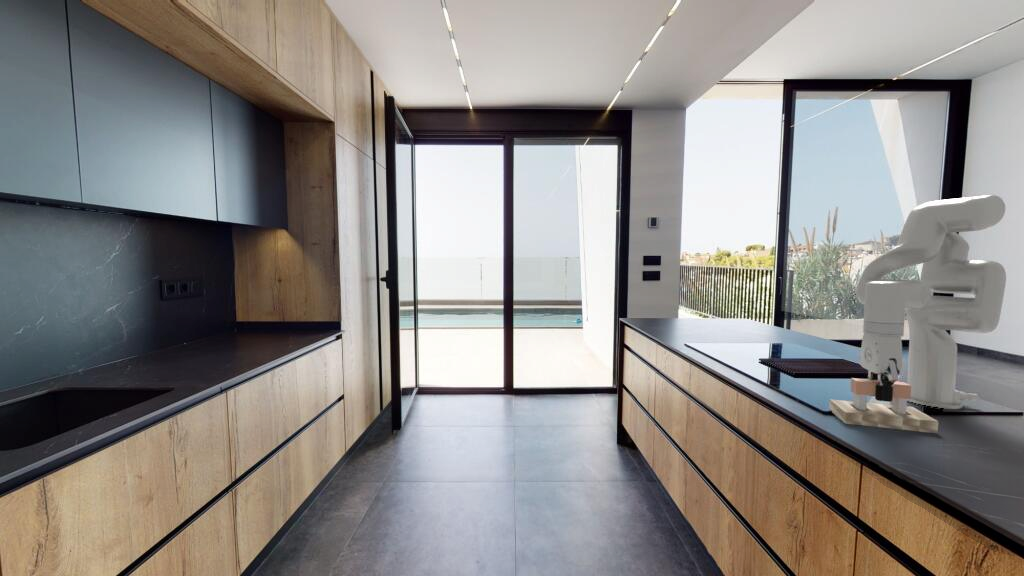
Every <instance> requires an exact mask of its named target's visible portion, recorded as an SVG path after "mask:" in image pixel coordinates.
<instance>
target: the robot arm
mask: <svg viewBox="0 0 1024 576" xmlns="http://www.w3.org/2000/svg"><path fill="white" fill-rule="evenodd" d="M1005 214H1006V205H1005V201H1004V200H1003V198H1002V197H1000V196H999V195H995V194H985V195H977V196H968V197H959V198H949V199H940V200H933V201H928V202H924V203H923V204H920V205H918V206H917V207H915V208H913V209H912V210H911V211H910V212H909V214H908V216H907V217H906V218H907V219H906V221H905V223H904V225H903V227H902V229H901V230H902V231H901V232H900V235H899V237H898V239H897V242H896V245H895V246H894V247H892V248H891V249H889V250H887V251H885V252H884V253H882V254H881V255H879V256H877V257H876V258H874V260H872V261H871V262H869V264H867V266H866V267H864V269H863V272H862V273H861V276H860V279H859V281H858V282H857V286H856V290H855V292H856V293H855V295H856V296H855V297H856V299H857V301H858V302H859V303H861V304H862V305H864V306H863V307H864V308H863V324H862V325H863V326H862V328H863V329H862V333H863V335H862V341H861V347H860V356H859V365H860V366H861V367H862V368H863V369H865V370H867V374H868V375H867V379H870V380H878V385H876V394H875V396H874V397H875V399H874V400H876V401H879V402H887V403H888V402H890V403H892V397H893V387H894V382H899V376H900V375H901V374H902V372H903V371H902V369H903V343H902V342H903V341H902V338H903V337H904V335H905V334H904V333H905V332H904V331H905V311H906V318H907V322H908V323H907V324H908V331H909V342H908V363H907V364H908V365H907V366H908V367H907V384H909V385H911V399H907V402H908V401H909V403H911V402H913V403H912V404H914V403H916V404H915V405H918V404H921V405H920V406H922V405H926V406H925V407H927V406H931V407H930V408H933V407H938V408H937V409H940V408H944V409H943V410H960V409H962V408H963V406H964V405H963V402H962V401H964V400H967V401H972V402H973V401H974V402H977V401H979V399H980V398H979V395H978V394H977V393H966V392H965V391H961V390H957V389H956V380H957V376H956V375H957V364H958V363H957V361H958V345H957V342H956V341H955V339H954V338H953V337H952V336H951V335H950V334H949V332H948V331H955V332H956V331H957V332H965V333H976V334H986V333H992V332H994V330H996V329H997V327H998V325H999V322H1000V319H1001V313H1002V307H1003V302H1004V301H1003V300H1004V297H1005V289H1006V284H1007V283H1006V282H1007V274H1006V270H1005V268H1004V266H1003V264H1001V263H999V262H997V261H994V260H987V259H984V260H983V259H981V260H980V259H978V260H976V259H975V260H968V257H969V250H970V245H969V243H968V241H967V240H966V239H964V237H963V236H961V235H960V234H959V233H964V232H977V231H978V232H979V231H982V230H986V229H988V228H991V227H994V226H996V225H997V224H999V223H1000V222H1001V221H1002V219H1003V218H1004V216H1005ZM920 264H922V267H921V272H920V280H914V279H912V280H911V279H884V277H886V276H887V275H890V274H892V273H893V272H897V271H900V270H903V269H906V268H910V267H914V266H918V265H920ZM933 293H938V294H939V293H940V294H941V293H942V294H957V295H958V294H960V295H961V294H962V295H973V296H974V297H966V296H965V297H964V296H963V297H961V296H945V295H942V296H941V295H933ZM885 372H886V373H885ZM868 396H870V395H868ZM870 397H871V396H870Z"/></svg>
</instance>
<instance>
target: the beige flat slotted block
mask: <svg viewBox="0 0 1024 576" xmlns="http://www.w3.org/2000/svg"><path fill="white" fill-rule="evenodd" d="M828 402H829V403H828V404H829V405H828V410H829V409H830V410H831V411H832V412H831V411H830V410H829V411H830V412H831V413H832V414H834V416H835V417H837V418H838V419H839V420H840V421H842V423H844V424H848V425H854V426H855V425H858V426H866V427H875V428H884V429H885V428H886V429H893V430H902V431H911V432H912V431H913V432H920V433H928V434H930V433H931V434H938V433H939V421H938V420H937V419H934V418H933V417H931V416H929V415H928V414H927V413H924V412H923V411H921V410H919V409H917V408H915V407H914V406H907V408H906V414H898V413H896V412H895V411H893V410H892V409H891V407H892V404H885V403H876V402H875V403H873V402H867V407H866V410H859V409H857V408H856V407H855V406H853V401H852V400H842V399H841V400H839V399H832V398H830V399H828Z"/></svg>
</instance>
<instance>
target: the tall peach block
mask: <svg viewBox="0 0 1024 576" xmlns="http://www.w3.org/2000/svg"><path fill="white" fill-rule="evenodd" d="M876 385H878V380H870V379H868V378H856V377H855V378H854V377H851V378H850V391H851V392H852V393H853V406H855V407H856V408H857V409H859V410H866V407H867V403H868V401H867V400H868V396H869V395H870V397H875V394H876ZM907 399H911V385H909V384H907V383H906V382H905V381H896V382H894V387H893V397H892V402H891V405H892V407H891V409H892V410H893V411H895V412H896V413H898V414H906V408H907V405H908V401H907Z"/></svg>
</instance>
